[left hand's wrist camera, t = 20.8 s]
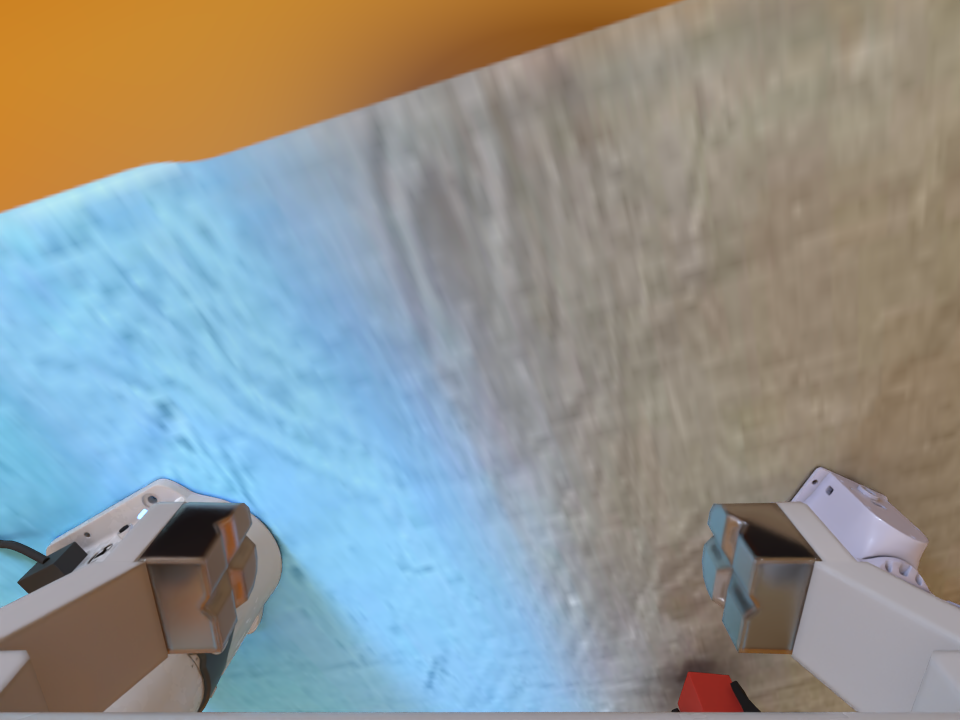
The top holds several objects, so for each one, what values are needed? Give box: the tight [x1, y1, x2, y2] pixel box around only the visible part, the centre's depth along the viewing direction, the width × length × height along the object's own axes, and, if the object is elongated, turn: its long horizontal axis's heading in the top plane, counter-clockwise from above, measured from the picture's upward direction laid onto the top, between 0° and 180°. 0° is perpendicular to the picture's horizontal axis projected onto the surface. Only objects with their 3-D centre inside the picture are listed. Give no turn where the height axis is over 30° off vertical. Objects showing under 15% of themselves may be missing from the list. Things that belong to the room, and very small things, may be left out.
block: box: [678, 672, 744, 712], centre depth 61 cm, size 5×4×5 cm
